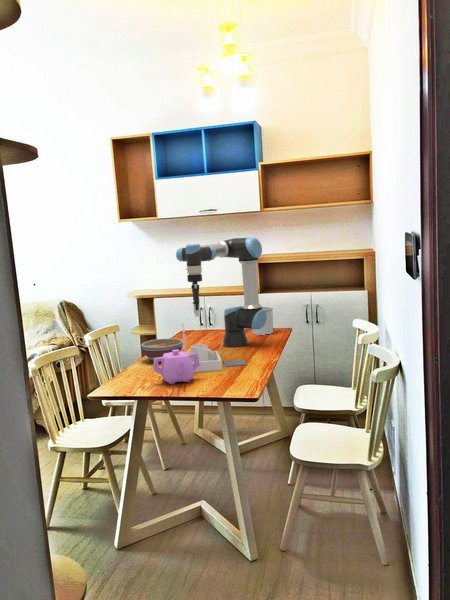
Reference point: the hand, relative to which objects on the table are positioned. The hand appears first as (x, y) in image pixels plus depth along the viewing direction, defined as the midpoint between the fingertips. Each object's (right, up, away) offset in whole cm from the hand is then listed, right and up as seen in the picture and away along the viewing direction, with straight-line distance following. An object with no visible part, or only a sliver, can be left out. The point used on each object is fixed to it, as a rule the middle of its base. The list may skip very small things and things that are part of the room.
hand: (197, 314), depth 295 cm
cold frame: (+3, -27, +2) cm, 27 cm away
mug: (+3, -27, +2) cm, 27 cm away
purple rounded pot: (-8, -31, -25) cm, 41 cm away
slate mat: (+20, -26, +3) cm, 33 cm away
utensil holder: (+40, -15, +82) cm, 93 cm away
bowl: (-20, -26, +22) cm, 39 cm away
